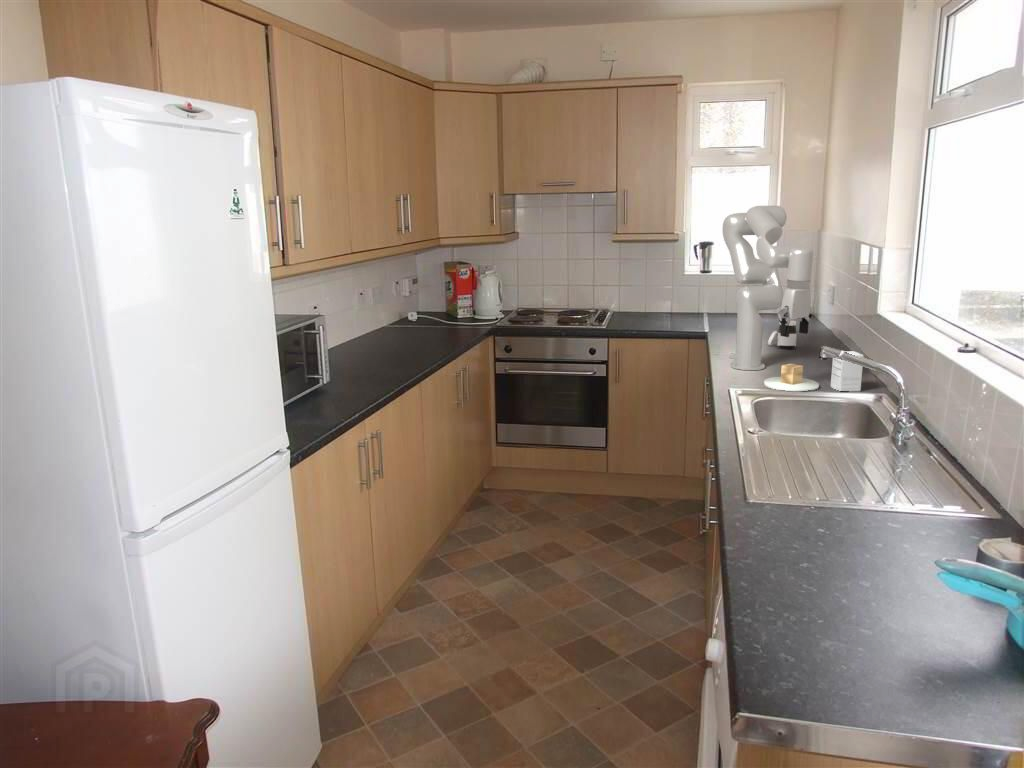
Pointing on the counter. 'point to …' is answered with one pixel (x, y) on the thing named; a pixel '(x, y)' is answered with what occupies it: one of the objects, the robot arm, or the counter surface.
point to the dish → (778, 385)
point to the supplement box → (846, 374)
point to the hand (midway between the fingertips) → (794, 334)
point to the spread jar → (784, 341)
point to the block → (791, 374)
